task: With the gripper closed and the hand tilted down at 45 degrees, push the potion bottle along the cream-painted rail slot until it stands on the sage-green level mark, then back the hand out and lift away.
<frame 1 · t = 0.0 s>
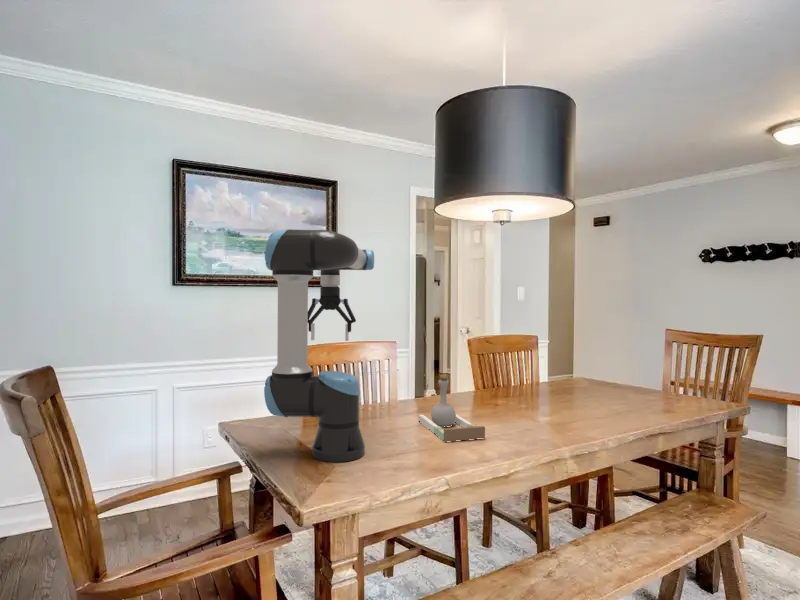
hand: (329, 340, 189), 28 cm above the table, tool pointing down, fingers open, 13 cm apart
potion bottle: (442, 425, 171), on the table
slot track: (449, 429, 166), on the table
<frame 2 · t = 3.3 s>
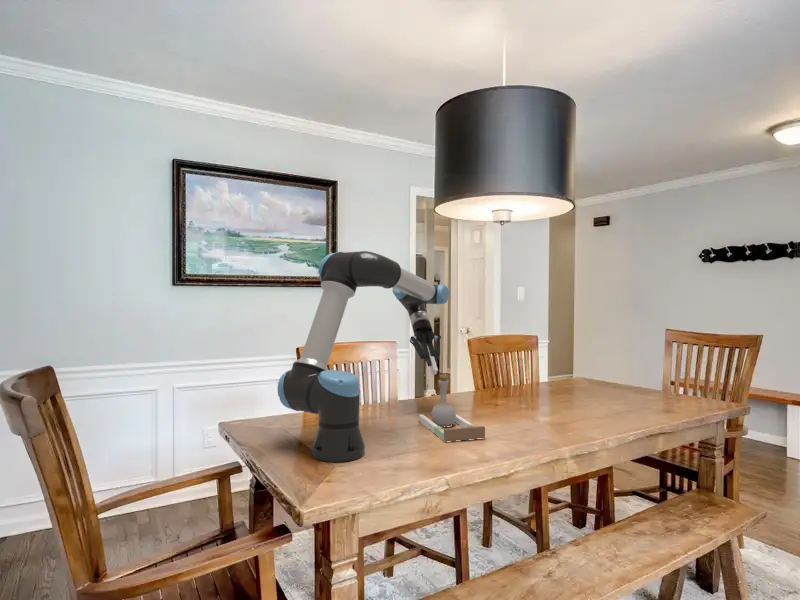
hand: (435, 372, 180), 17 cm above the table, tool tilted 45°, fingers closed
nothing on the table moved.
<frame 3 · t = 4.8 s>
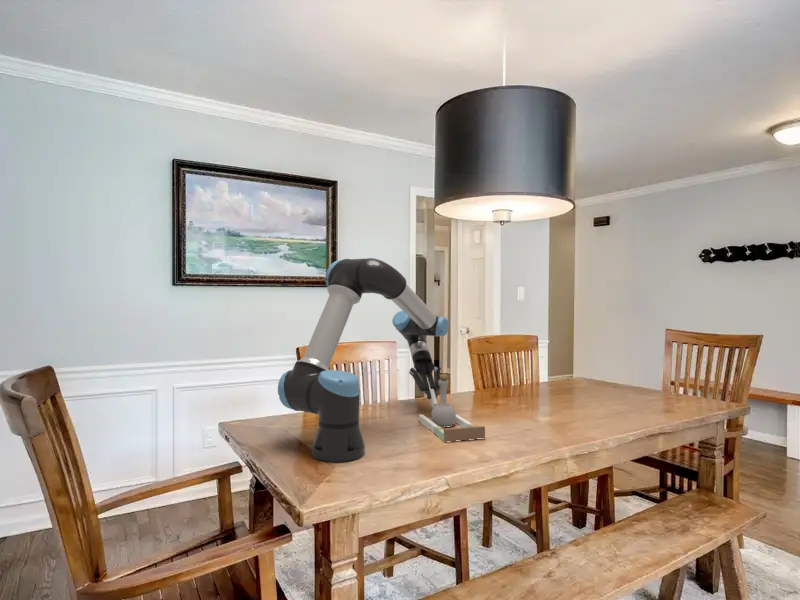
hand: (434, 405, 180), 5 cm above the table, tool tilted 45°, fingers closed
nothing on the table moved.
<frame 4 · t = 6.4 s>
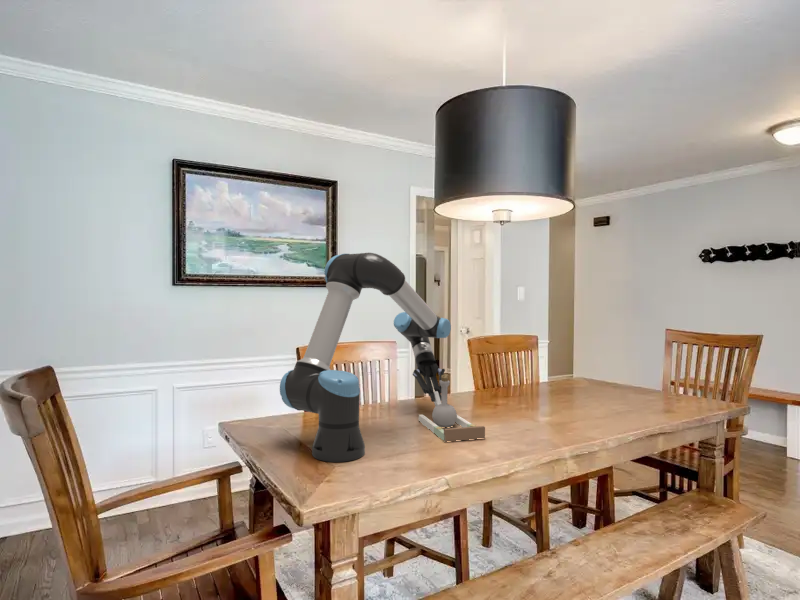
hand: (439, 408, 175), 5 cm above the table, tool tilted 45°, fingers closed
potion bottle: (444, 426, 171), on the table, touching gripper
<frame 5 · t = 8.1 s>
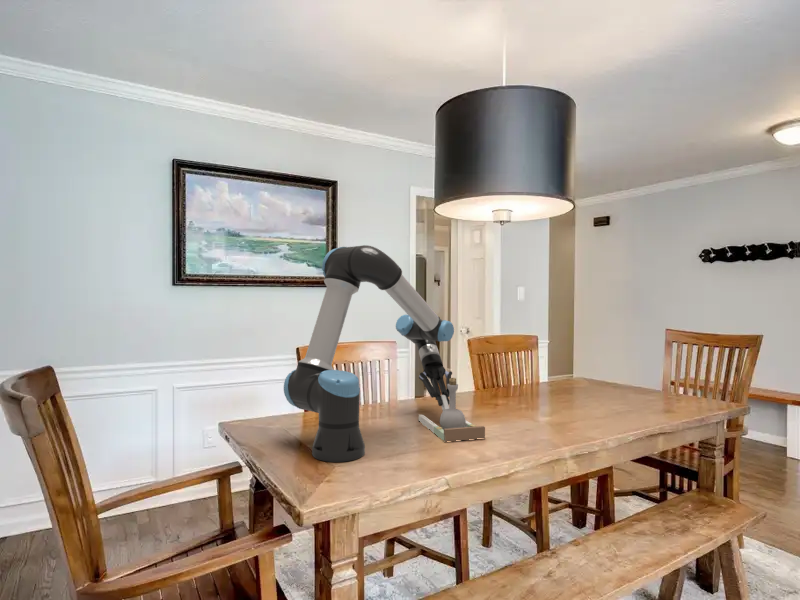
hand: (447, 412, 168), 5 cm above the table, tool tilted 45°, fingers closed
potion bottle: (452, 431, 164), on the table, touching gripper
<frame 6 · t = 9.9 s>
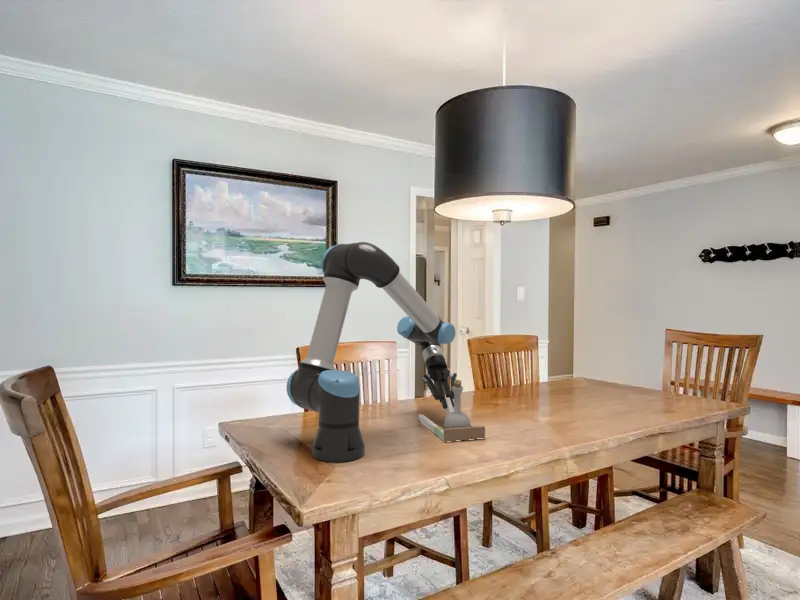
hand: (451, 415, 164), 5 cm above the table, tool tilted 45°, fingers closed
potion bottle: (456, 435, 159), on the table, touching gripper
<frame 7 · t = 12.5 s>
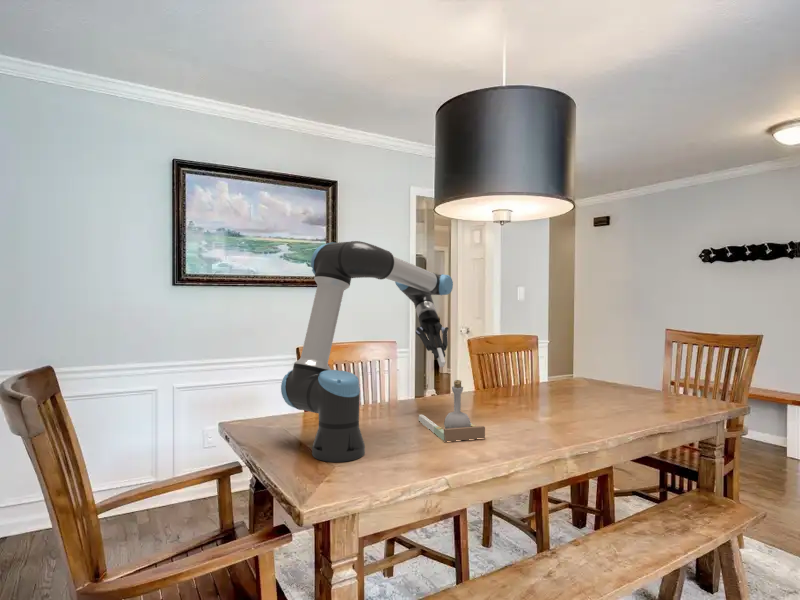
hand: (442, 364, 172), 21 cm above the table, tool tilted 45°, fingers closed
potion bottle: (456, 435, 159), on the table
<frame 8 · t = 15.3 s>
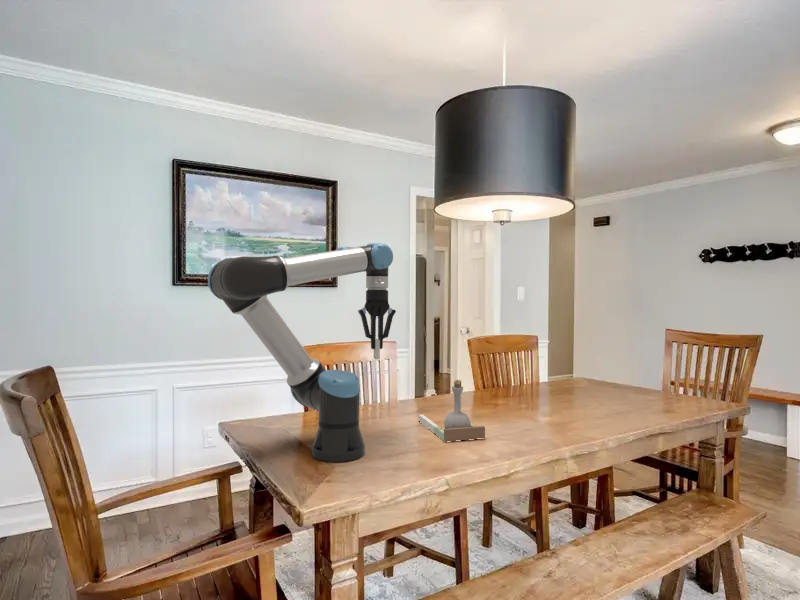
hand: (376, 358, 164), 24 cm above the table, tool pointing down, fingers closed
nothing on the table moved.
at the end: potion bottle inside the target area (0.3 cm from its centre), on the table; potion bottle tilted 0°; potion bottle moved 12.4 cm from its start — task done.
